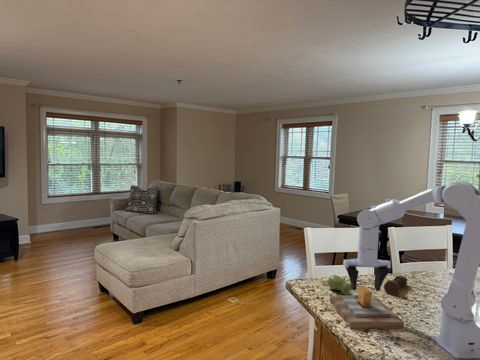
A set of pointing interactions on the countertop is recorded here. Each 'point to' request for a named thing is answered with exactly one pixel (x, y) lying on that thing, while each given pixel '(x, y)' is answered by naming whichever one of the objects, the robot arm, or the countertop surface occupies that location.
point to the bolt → (395, 285)
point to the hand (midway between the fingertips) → (365, 289)
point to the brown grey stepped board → (365, 312)
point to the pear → (339, 284)
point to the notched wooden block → (364, 297)
